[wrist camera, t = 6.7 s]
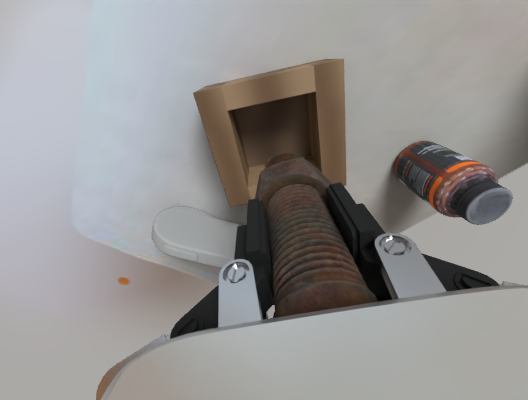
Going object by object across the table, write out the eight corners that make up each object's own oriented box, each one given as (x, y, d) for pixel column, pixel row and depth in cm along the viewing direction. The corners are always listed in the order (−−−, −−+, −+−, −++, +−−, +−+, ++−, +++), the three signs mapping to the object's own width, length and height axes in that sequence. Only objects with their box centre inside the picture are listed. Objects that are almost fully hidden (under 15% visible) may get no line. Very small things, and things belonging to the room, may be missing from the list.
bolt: (306, 206, 19) (407, 489, 7) (245, 197, 19) (228, 493, 6) (328, 137, 17) (585, 404, 4) (257, 124, 16) (273, 393, 3)
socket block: (325, 59, 25) (343, 58, 19) (330, 164, 31) (346, 185, 25) (205, 86, 25) (193, 92, 20) (234, 183, 32) (230, 207, 26)
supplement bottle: (397, 189, 33) (457, 242, 23) (387, 153, 30) (450, 197, 20) (441, 169, 32) (524, 217, 22) (435, 130, 29) (527, 166, 19)
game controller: (163, 212, 34) (139, 253, 27) (165, 199, 33) (141, 238, 26) (287, 245, 38) (295, 288, 31) (293, 234, 37) (302, 276, 30)
